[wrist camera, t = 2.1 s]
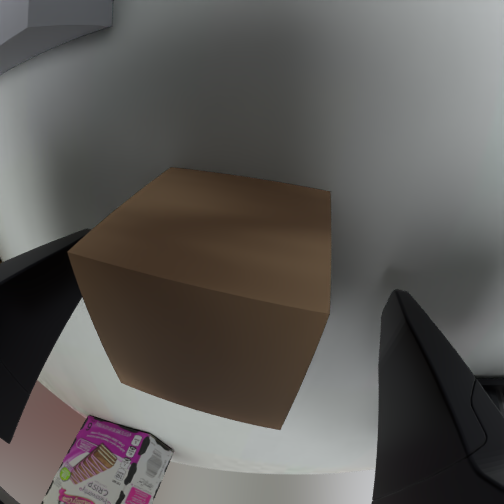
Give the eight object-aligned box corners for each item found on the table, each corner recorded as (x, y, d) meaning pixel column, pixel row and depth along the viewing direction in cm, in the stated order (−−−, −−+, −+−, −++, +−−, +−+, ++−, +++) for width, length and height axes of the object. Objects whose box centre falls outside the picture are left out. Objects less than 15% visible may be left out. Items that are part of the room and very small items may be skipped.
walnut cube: (330, 190, 8) (330, 314, 4) (301, 310, 10) (279, 429, 7) (171, 166, 8) (66, 252, 5) (179, 284, 11) (121, 382, 7)
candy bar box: (148, 430, 24) (92, 561, 10) (175, 450, 26) (129, 569, 13) (85, 412, 28) (34, 512, 15) (111, 432, 30) (66, 526, 17)
